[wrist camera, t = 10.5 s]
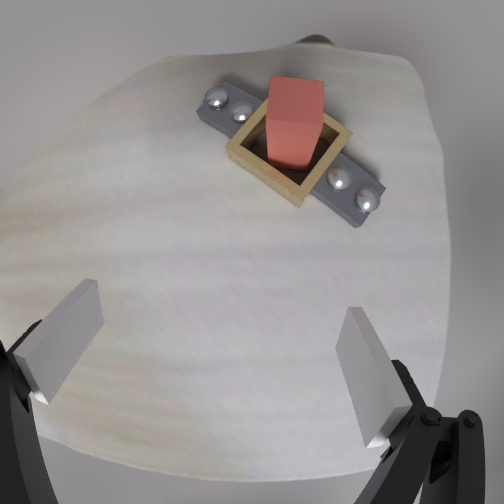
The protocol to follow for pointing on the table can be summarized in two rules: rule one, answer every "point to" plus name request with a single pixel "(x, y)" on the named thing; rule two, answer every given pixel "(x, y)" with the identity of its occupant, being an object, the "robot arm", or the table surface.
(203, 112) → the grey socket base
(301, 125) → the link pin
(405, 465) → the robot arm
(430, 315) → the table surface
